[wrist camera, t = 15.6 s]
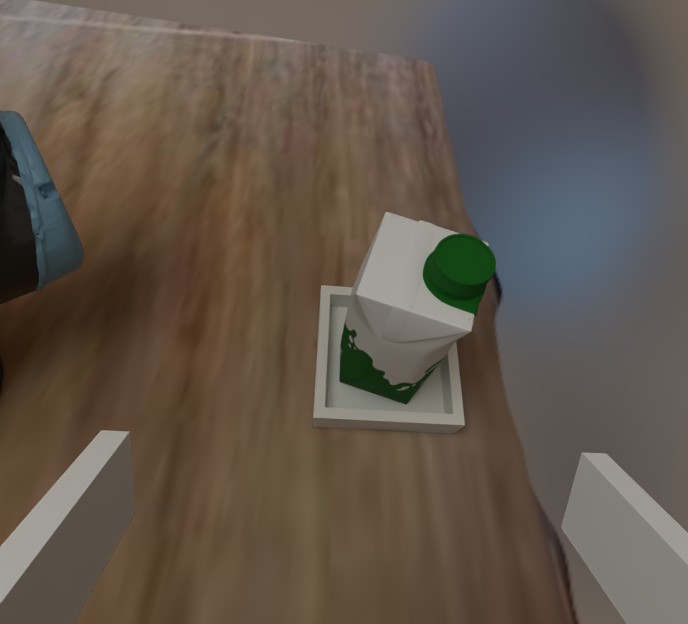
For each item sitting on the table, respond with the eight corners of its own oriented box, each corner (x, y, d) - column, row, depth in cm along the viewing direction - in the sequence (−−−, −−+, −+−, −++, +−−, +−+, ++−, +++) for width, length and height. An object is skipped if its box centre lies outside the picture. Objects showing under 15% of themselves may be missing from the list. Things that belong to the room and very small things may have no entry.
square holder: (312, 426, 43) (313, 417, 40) (319, 301, 50) (321, 285, 46) (453, 433, 44) (464, 425, 41) (442, 309, 51) (451, 294, 47)
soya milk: (413, 416, 44) (491, 328, 26) (326, 386, 44) (345, 280, 27) (431, 340, 48) (510, 219, 30) (352, 314, 48) (383, 180, 31)
